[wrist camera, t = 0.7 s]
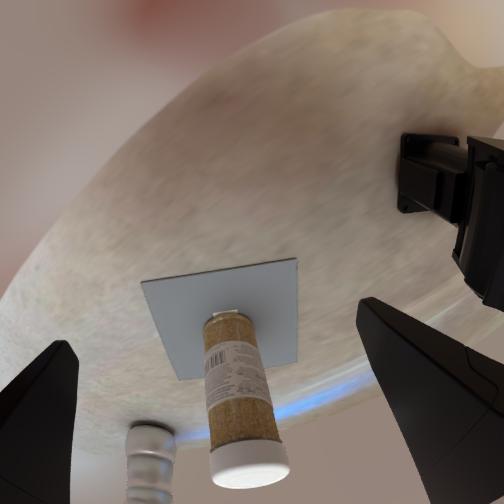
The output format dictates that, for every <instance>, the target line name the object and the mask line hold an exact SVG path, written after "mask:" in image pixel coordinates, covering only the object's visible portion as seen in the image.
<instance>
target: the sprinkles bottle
mask: <svg viewBox="0 0 504 504" xmlns="http://www.w3.org/2000/svg"><path fill="white" fill-rule="evenodd" d="M203 340H204V347H205V357H204V374H205V391H206V407H207V416H208V418H209V429H210V438H211V450H210V453H211V454H210V458H209V460H210V469H211V476H212V480H213V482H214V483H215V484H217V485H219V486H221V487H226V488H239V489H243V488H253V487H260V486H264V485H268V484H271V483H274V482H277V481H279V480H281V479H283V478H284V477H285V476H287V475H288V473H289V471H290V466H289V461H288V457H287V453H286V449H285V447H284V445H283V444H282V441H281V439H280V438H279V434H278V430H277V426H276V422H275V417H274V413H273V405H272V401H271V397H270V393H269V389H268V384H267V380H266V376H265V372H264V368H263V364H262V360H261V355H260V353H259V350H258V346H257V342H256V337H255V328H254V325H253V323H252V322H251V321H250V320H249V319H247V318H246V317H244V316H242V315H239V314H233V313H232V314H223V315H218V316H216V317H214V318H213V319H211V320H210V321H209V322H208V323H207V324H206V325H205V327H204V329H203Z"/></svg>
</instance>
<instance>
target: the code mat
mask: <svg viewBox="0 0 504 504" xmlns="http://www.w3.org/2000/svg"><path fill="white" fill-rule="evenodd" d="M140 284H141V287H142V289H143V292H144V295H145V298H146V301H147V304H148V306H149V309H150V312H151V314H152V317H153V320H154V322H155V325H156V327H157V330H158V333H159V335H160V338H161V340H162V342H163V345H164V347H165V350H166V352H167V355H168V357H169V359H170V362H171V364H172V366H173V368H174V371H175V373H176V375H177V377H178V380H179V381H180V380H189V379H198V378H205V374H204V357H205V347H204V340H203V329H204V327H205V325H206V324H207V323H208V322H209V321H210V320H211V319H213V318H214V317H216V316H218V315H223V314H232V313H233V314H239V315H242V316H244V317H246V318H247V319H249V320H250V321H251V322H252V323H253V325H254V328H255V337H256V342H257V346H258V350H259V353H260V355H261V360H262V364H263V368H264V369H265V368H271V367H276V366H281V365H286V364H291V363H296V362H297V259H296V258H293V259H286V260H280V261H274V262H268V263H262V264H255V265H249V266H243V267H236V268H230V269H224V270H217V271H211V272H204V273H198V274H191V275H185V276H178V277H171V278H165V279H158V280H151V281H144V282H141V283H140Z"/></svg>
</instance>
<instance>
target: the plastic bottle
mask: <svg viewBox="0 0 504 504" xmlns="http://www.w3.org/2000/svg"><path fill="white" fill-rule="evenodd" d="M125 447H126V456H127V476H128V478H127V479H128V481H127V489H126V498H125V504H173V495H172V477H173V464H174V462H175V458H176V452H177V448H176V443H175V439H174V437H173V436H172V435H171V433H170V432H168V431H167V430H165V429H162V428H160V427H156V426H150V425H140V426H135V427H134V428H132V429H131V430H130V431H129V432H128V435H127V438H126V441H125Z"/></svg>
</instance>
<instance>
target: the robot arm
mask: <svg viewBox="0 0 504 504" xmlns="http://www.w3.org/2000/svg"><path fill="white" fill-rule="evenodd" d="M407 138H409V141H408V142H407ZM454 141H455V143H454ZM467 144H468V150H467V149H464V148H461V147H459V139H458V138H457V137H454V136H444V135H432V134H418V133H404V134H403V135H402V138H401V162H400V181H399V199H398V210H399V211H400V212H402V213H404V214H405V213H413V212H422V211H431V212H433V213H435V214H436V215H438V216H439V217H441V218H443V219H444V220H446V221H447V222H449V223H450V224H452V225H453V226H455V227H456V228H458V234H457V239H456V244H455V249H453V253H452V258H453V259H454V261H455V262H456V264H457V265H458V267H459V268H460V270H461V272H462V273H463V275H464V277H465V278H464V281H465V283H466V284H467V285H468V286H469V287H470V288H471V289H472V290H473V291H474V293H475V294H476V295H477V296H478V297H479V298H481V299H483V301H482V303H483V304H484V305H486V306H489V307H492V308H496V309H498V310H500V311H502V312H504V140H499V139H492V138H484V137H475V136H467ZM404 205H405V207H404V209H403V206H404ZM356 326H357V329H358V332H359V335H360V337H361V340H362V343H363V345H364V348H365V351H366V354H367V357H368V360H369V362H370V365H371V368H372V370H373V372H374V374H375V376H376V378H377V380H378V382H379V385H380V387H381V389H382V391H383V393H384V395H385V397H386V399H387V401H388V403H389V406H390V408H391V410H392V412H393V414H394V417H395V419H396V421H397V423H398V425H399V428H400V430H401V432H402V434H403V437H404V439H405V441H406V444H407V446H408V448H409V451H410V453H411V455H412V458H413V460H414V462H415V465H416V467H417V469H418V472H419V474H420V476H421V480H422V482H423V485H424V487H425V490H426V492H427V495H428V498H429V500H430V503H431V504H504V364H502V363H499V362H497V361H495V360H493V359H490V358H488V357H487V356H485V355H483V354H481V353H479V352H477V351H475V350H473V349H471V348H469V347H467V346H465V345H464V344H462V343H460V342H458V341H456V340H454V339H452V338H451V337H449V336H447V335H445V334H443V333H441V332H439V331H437V330H436V329H434V328H432V327H430V326H428V325H426V324H424V323H422V322H420V321H419V320H417V319H415V318H413V317H411V316H409V315H407V314H405V313H403V312H401V311H399V310H398V309H396V308H394V307H392V306H390V305H388V304H386V303H384V302H382V301H380V300H378V299H376V298H374V297H368V298H363V299H361V300H360V301H359V304H358V310H357V317H356ZM78 372H79V360H78V358H77V356H76V354H75V353H74V351H73V349H72V348H71V346H70V344H69V343H68V342H67V341H66V340H56V341H54V342H53V343H52V344H51V345H49V346H48V347H47V348H46V349H45V350H44V351H43V352H42V353H41V354H40V355H38V356H37V357H36V358H35V359H34V360H33V361H32V362H31V363H30V364H29V365H28V366H27V367H26V368H25V369H24V370H22V371H21V372H20V373H19V374H18V375H17V376H16V377H15V378H14V379H13V380H12V381H11V382H10V383H9V384H8V385H7V386H6V387H5V388H4V389H3V390H2V391H1V392H0V504H70V472H71V454H72V453H71V452H72V441H73V431H74V422H75V414H76V405H77V387H78Z"/></svg>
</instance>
